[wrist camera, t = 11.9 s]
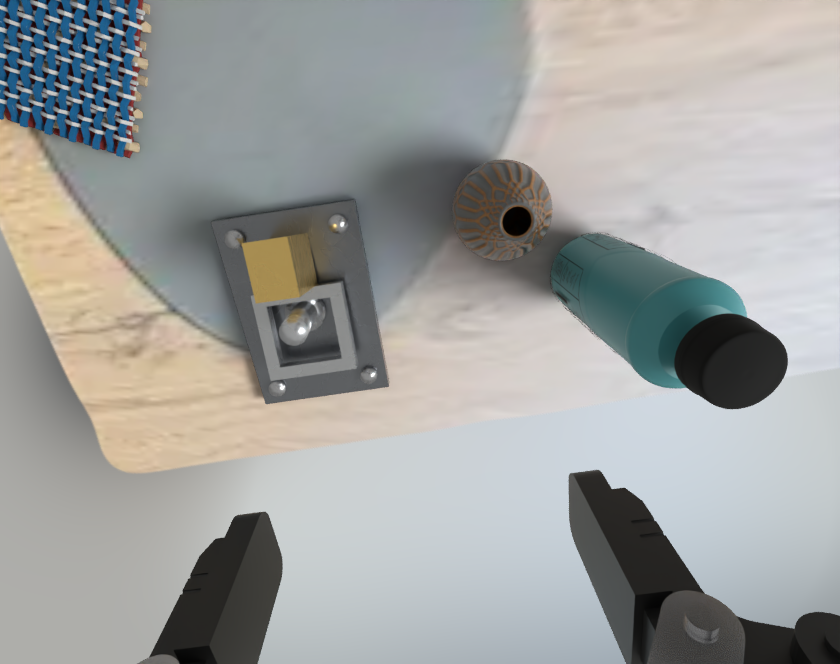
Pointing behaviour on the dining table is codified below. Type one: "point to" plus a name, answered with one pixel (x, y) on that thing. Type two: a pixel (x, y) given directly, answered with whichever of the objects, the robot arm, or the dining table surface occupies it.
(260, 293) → the end link
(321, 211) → the toggle switch
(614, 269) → the beverage bottle
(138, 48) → the woven mat
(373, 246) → the dining table surface
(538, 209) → the vase
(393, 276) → the dining table surface
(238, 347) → the dining table surface
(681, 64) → the dining table surface
